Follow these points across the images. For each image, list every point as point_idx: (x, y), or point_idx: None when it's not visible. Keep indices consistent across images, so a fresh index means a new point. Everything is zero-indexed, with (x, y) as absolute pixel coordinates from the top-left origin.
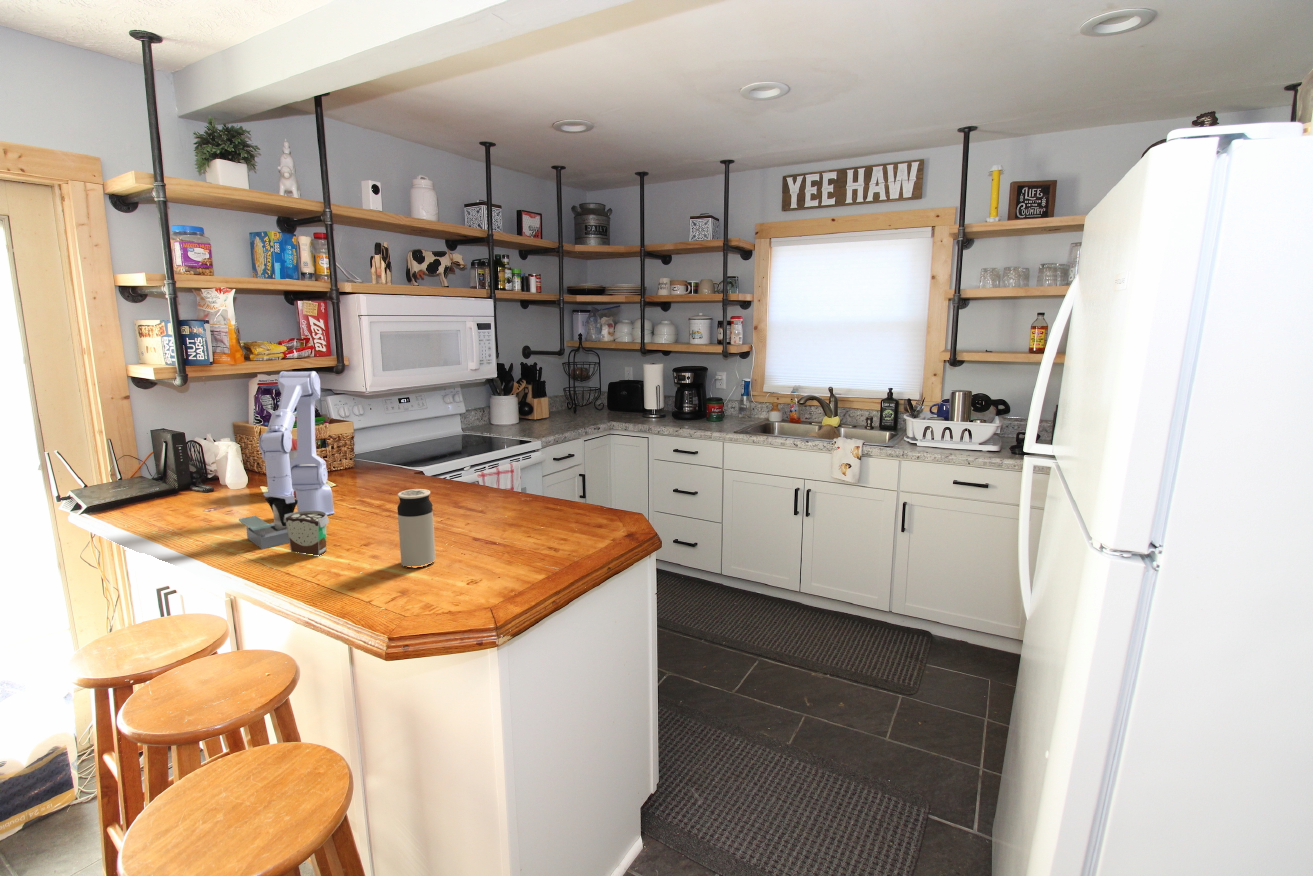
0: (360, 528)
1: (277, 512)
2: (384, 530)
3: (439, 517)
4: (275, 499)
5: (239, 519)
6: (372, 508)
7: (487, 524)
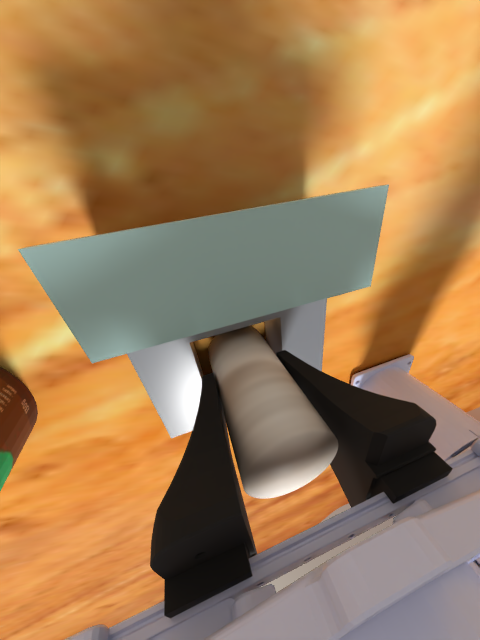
0: None
1: (239, 417)
2: (142, 523)
3: None
4: (363, 464)
5: (375, 186)
6: (322, 472)
7: (86, 625)
